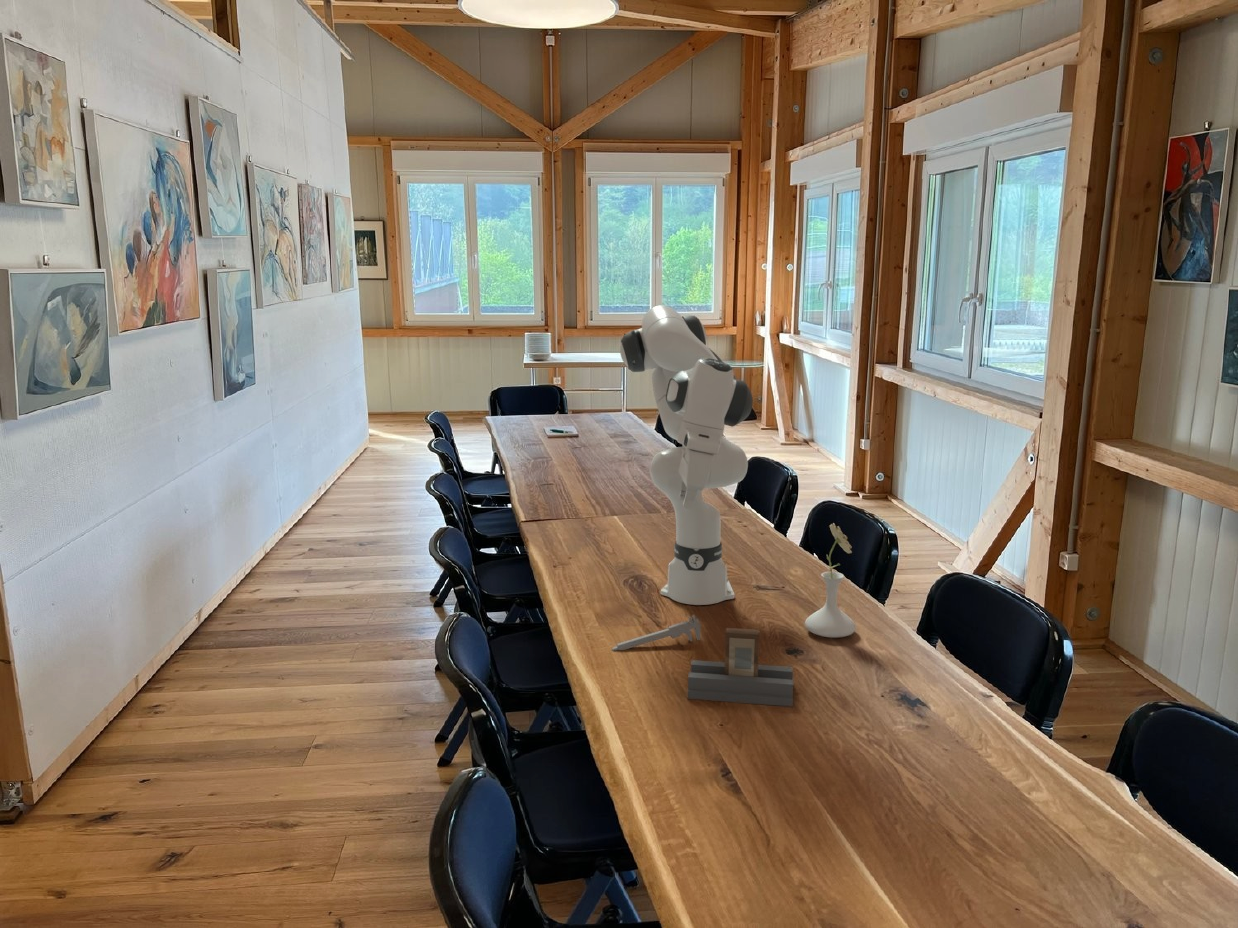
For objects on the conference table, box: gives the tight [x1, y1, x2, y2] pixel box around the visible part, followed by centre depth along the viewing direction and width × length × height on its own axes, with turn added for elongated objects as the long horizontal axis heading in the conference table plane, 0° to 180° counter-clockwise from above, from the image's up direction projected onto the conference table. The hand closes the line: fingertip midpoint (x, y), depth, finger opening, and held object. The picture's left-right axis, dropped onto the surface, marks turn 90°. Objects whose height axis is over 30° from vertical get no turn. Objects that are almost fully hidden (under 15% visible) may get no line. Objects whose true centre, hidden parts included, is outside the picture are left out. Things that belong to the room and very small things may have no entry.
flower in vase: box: [804, 522, 857, 639], centre depth 205 cm, size 13×11×25 cm
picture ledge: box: [686, 659, 794, 707], centre depth 177 cm, size 10×20×4 cm, turn 80°
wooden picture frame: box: [724, 627, 760, 677], centre depth 176 cm, size 3×6×11 cm, turn 80°
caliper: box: [611, 614, 701, 651], centre depth 199 cm, size 20×1×6 cm, turn 106°
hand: (685, 503), depth 186 cm, fingers open, 8 cm apart
